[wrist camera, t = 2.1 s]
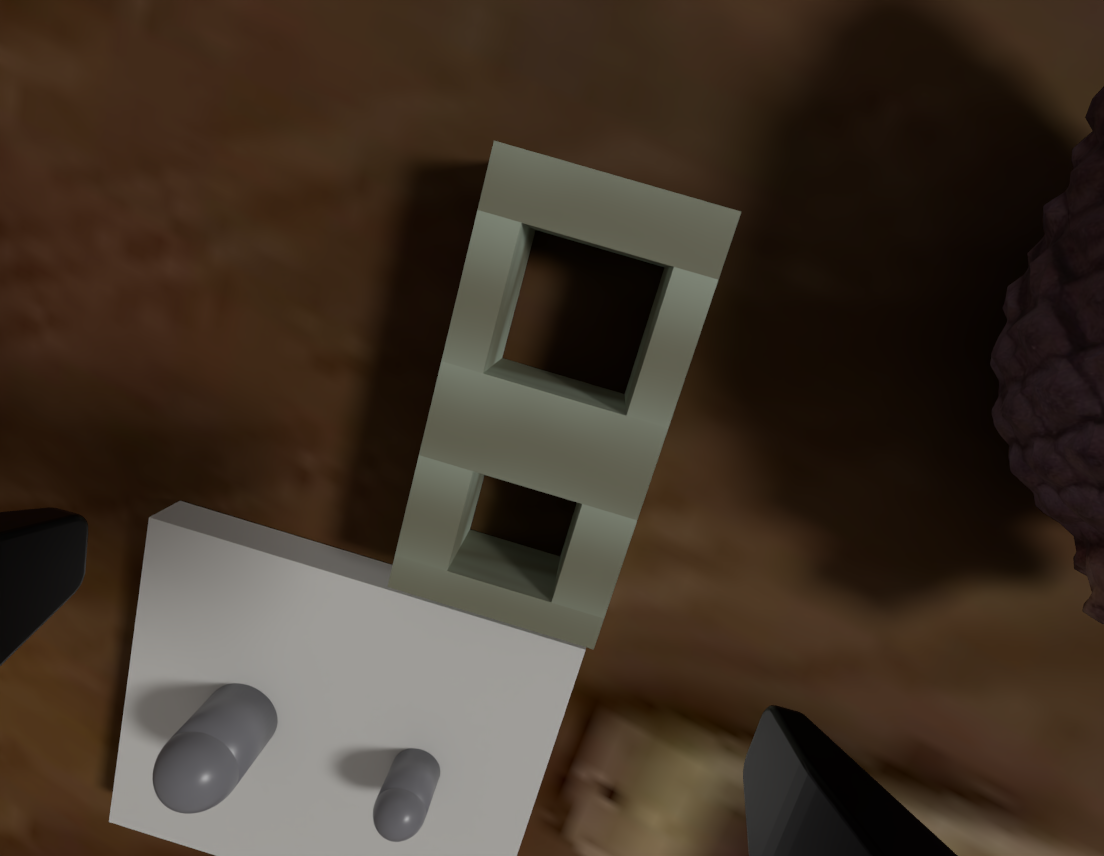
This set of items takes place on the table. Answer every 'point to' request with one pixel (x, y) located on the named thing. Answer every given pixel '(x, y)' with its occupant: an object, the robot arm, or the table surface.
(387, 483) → the table surface
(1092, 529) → the pine cone
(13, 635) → the robot arm
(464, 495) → the bar
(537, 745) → the post board
